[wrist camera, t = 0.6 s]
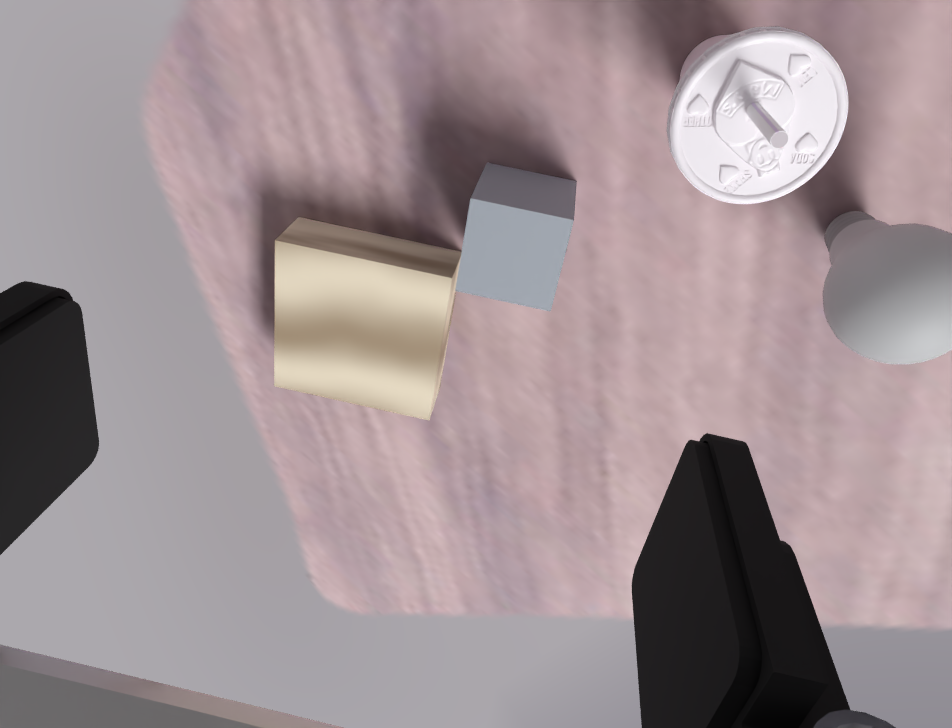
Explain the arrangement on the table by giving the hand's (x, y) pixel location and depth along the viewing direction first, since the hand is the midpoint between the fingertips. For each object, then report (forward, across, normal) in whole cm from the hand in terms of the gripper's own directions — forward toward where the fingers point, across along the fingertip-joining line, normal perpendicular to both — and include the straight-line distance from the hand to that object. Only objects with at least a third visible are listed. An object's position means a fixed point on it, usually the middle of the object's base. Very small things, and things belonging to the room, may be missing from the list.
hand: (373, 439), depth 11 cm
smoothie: (+30, -9, -3) cm, 31 cm away
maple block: (+31, +7, +14) cm, 34 cm away
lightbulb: (+30, -18, +3) cm, 35 cm away
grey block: (+30, -1, +6) cm, 30 cm away
